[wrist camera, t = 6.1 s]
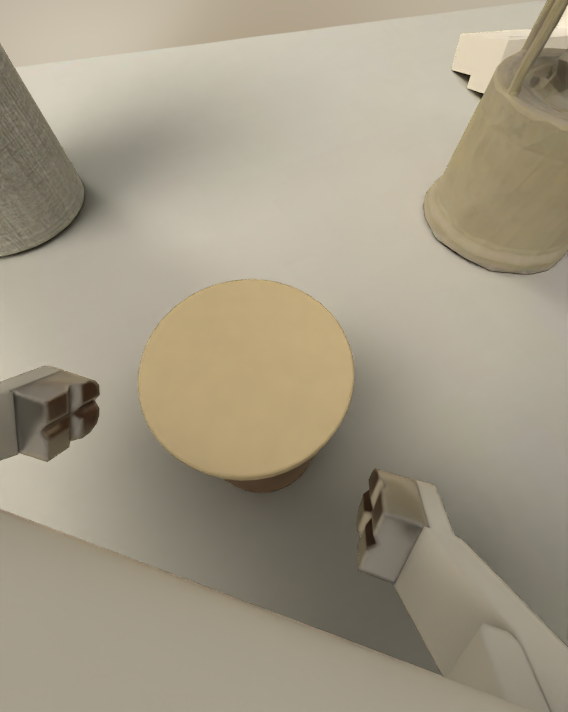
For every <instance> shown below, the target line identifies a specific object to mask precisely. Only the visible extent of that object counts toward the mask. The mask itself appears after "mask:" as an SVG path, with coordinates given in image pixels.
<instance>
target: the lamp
mask: <svg viewBox="0 0 568 712" xmlns="http://www.w3.org/2000/svg"><path fill="white" fill-rule="evenodd" d="M567 6H568V0H547V2H546V4H545V6H544V7H543V9H542V11H541V13H540V15H539V17H538V19H537V21H536V23H535V24H534V26H533V28H532V30H531V32H530V34H529V36H528V38H527V40H526V41H525V43H524V45H523V47H522V49H521V50H520V51H519V52H517V53H516V54H513V55H511V56H509V57H507V58H505V59H504V60H503V61H502V62H501V63H500V64H499V65H498V66H497V68H496V70H495V72H494V74H493V76H492V78H491V80H490V82H489V84H488V87H487V89H486V91H485V93H484V95H483V97H482V99H481V101H480V103H479V105H478V107H477V109H476V110H475V112H474V114H473V116H472V118H471V120H470V122H469V124H468V126H467V128H466V130H465V132H464V134H463V136H462V138H461V140H460V142H459V144H458V146H457V148H456V150H455V152H454V154H453V156H452V158H451V160H450V162H449V164H448V166H447V168H446V170H445V172H444V174H443V175H442V176H441V177H440V178H439V179H438V180H437V181H436V182H435V183H434V184H433V185H432V187H431V188H430V189H429V190H428V192H427V193H426V197H425V201H424V204H423V206H424V212H425V217H426V220H427V222H428V224H429V226H430V228H431V230H432V232H433V234H434V236H435V237H436V239H438V240H439V241H441V242H442V243H443V244H445V245H446V246H448V247H449V248H451V249H452V250H454V251H455V252H457V253H458V254H460V255H461V256H463V257H464V258H466V259H468V260H470V261H472V262H474V263H476V264H478V265H480V266H482V267H484V268H486V269H488V270H490V271H499V272H509V273H520V274H532V273H537V272H541V271H546V270H549V269H550V268H551V267H552V266H553V265H555V264H556V263H557V262H558V261H560V260H561V258H562V257H563V256H564V255H565V253H566V252H567V251H568V48H567V49H558V48H544V46H545V44H546V43H547V41H548V39H549V38H550V36H551V34H552V32H553V31H554V29H555V27H556V25H557V24H558V22H559V20H560V18H561V17H562V15H563V13H564V11H565V9H566V7H567Z"/></svg>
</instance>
